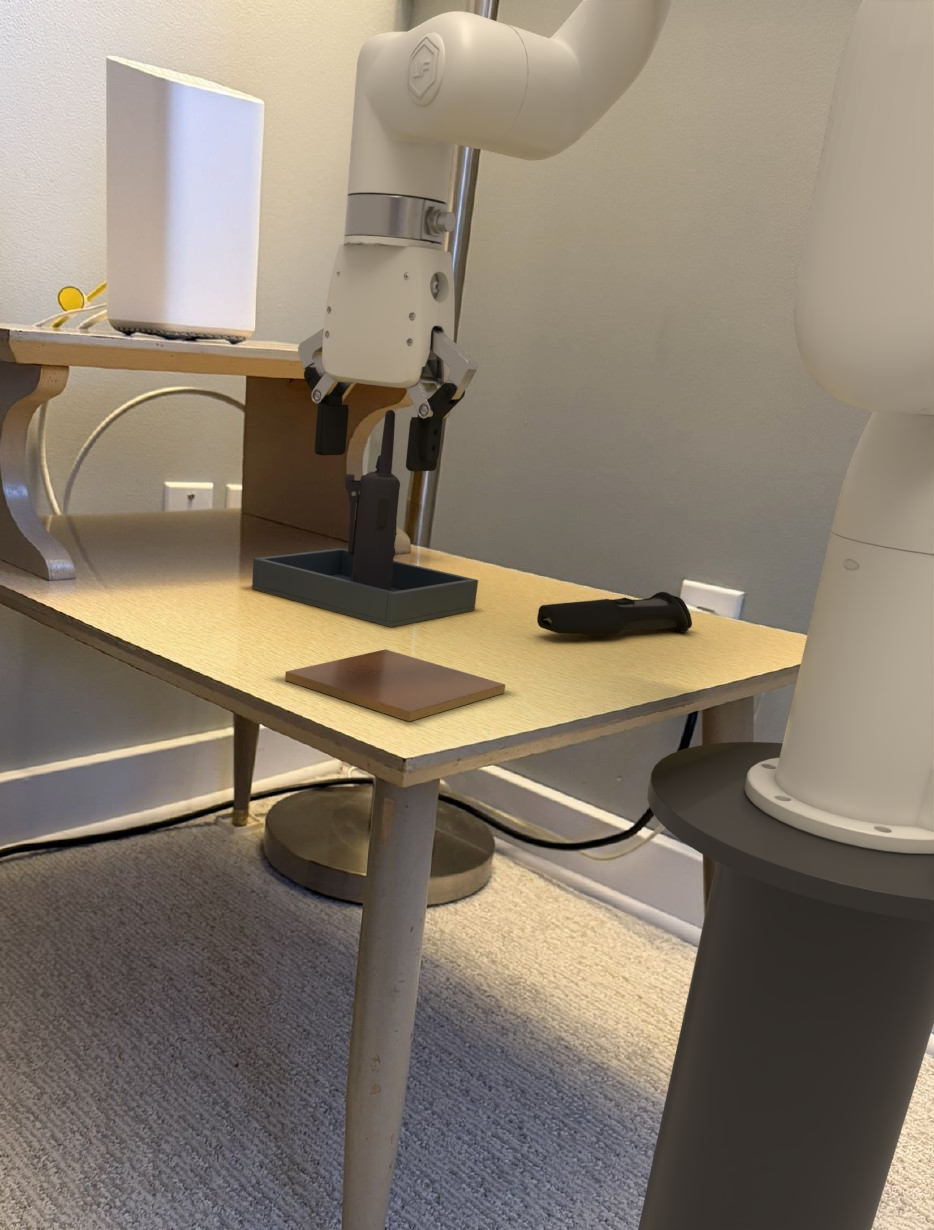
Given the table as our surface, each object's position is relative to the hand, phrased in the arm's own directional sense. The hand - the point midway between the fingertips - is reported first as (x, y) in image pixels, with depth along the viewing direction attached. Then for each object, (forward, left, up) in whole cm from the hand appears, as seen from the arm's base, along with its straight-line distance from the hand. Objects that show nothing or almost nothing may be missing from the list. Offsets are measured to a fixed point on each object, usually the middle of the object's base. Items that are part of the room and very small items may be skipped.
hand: (374, 462), depth 94 cm
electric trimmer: (-19, -9, -11) cm, 24 cm away
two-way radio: (0, 0, -11) cm, 11 cm away
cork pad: (-18, +18, -11) cm, 28 cm away
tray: (0, 0, -11) cm, 11 cm away
